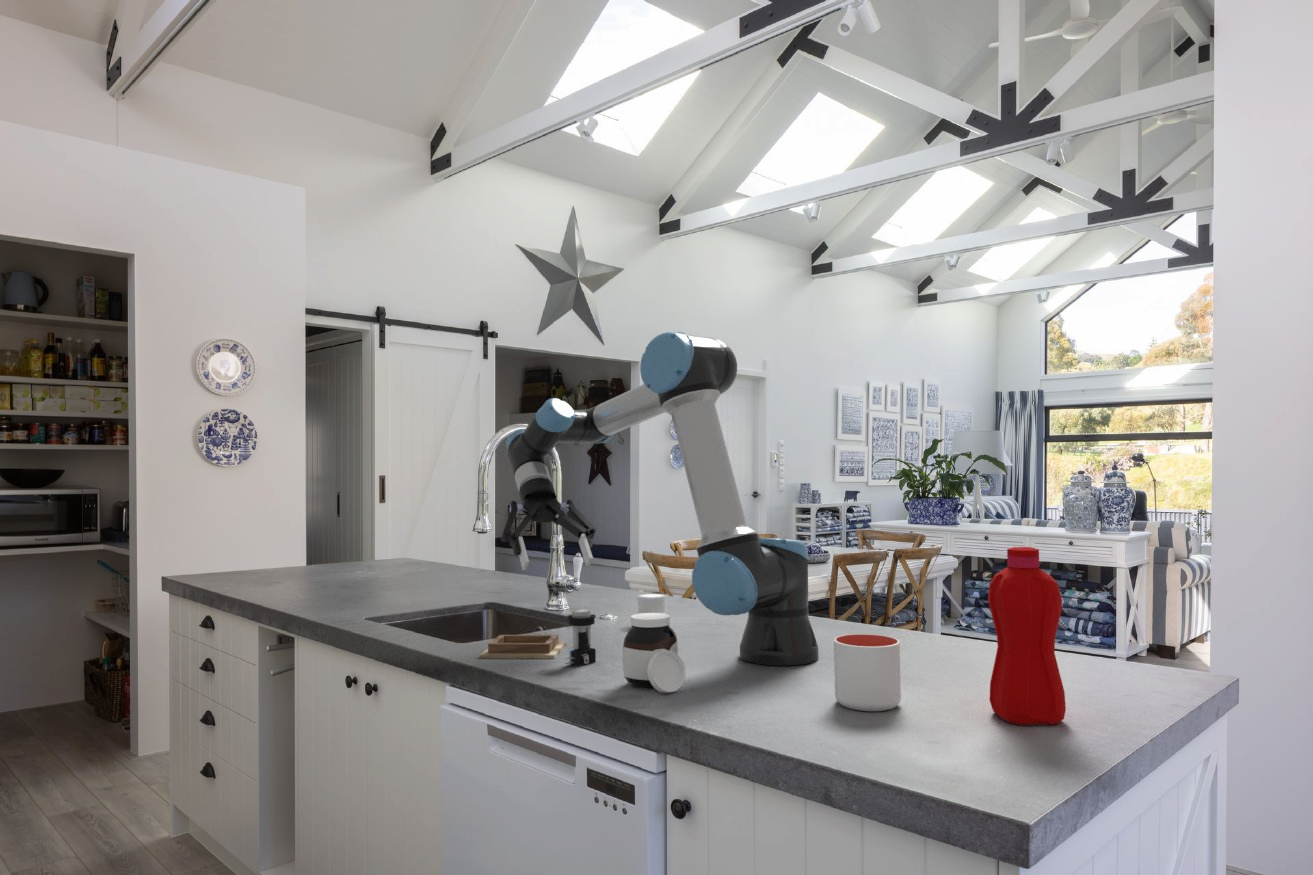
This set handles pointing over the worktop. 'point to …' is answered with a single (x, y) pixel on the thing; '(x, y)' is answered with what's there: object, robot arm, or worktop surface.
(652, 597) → the white cylinder
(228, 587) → the worktop surface
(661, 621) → the spread jar
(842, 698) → the cup
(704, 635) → the worktop surface
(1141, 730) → the worktop surface
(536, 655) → the socket plate
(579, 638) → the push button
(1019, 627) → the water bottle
